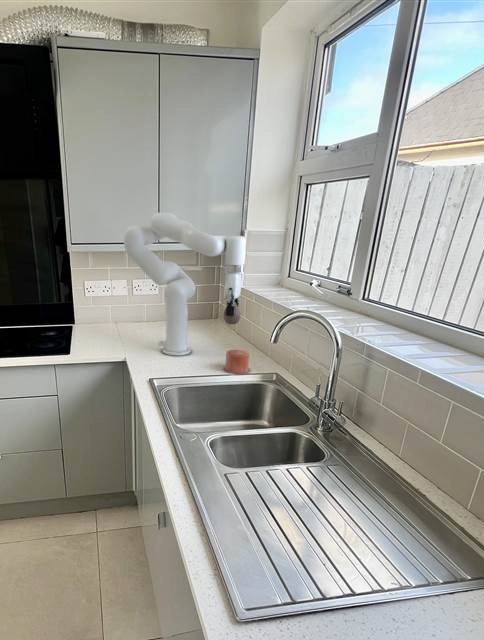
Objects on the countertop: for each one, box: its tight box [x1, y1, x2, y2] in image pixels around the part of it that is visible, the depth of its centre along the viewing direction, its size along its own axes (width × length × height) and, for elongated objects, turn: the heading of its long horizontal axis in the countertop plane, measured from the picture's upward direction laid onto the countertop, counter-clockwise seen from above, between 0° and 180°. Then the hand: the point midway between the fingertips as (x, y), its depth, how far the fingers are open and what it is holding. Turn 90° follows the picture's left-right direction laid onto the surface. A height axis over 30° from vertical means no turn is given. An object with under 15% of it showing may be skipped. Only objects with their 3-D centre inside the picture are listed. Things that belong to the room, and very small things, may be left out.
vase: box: [223, 302, 242, 325], centre depth 167 cm, size 7×7×9 cm
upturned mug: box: [224, 349, 250, 375], centre depth 162 cm, size 12×9×7 cm
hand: (232, 313), depth 167 cm, fingers closed on vase, 6 cm apart
